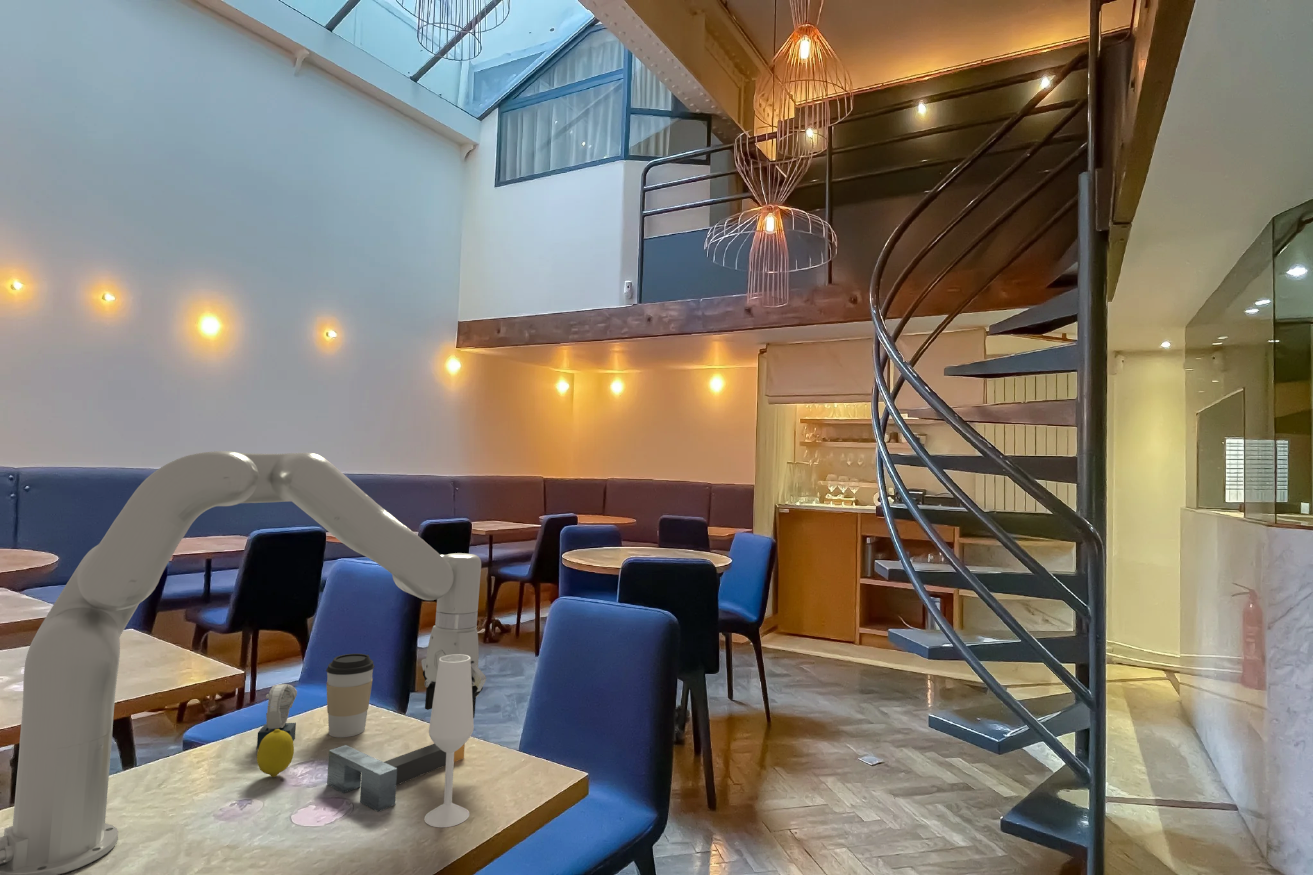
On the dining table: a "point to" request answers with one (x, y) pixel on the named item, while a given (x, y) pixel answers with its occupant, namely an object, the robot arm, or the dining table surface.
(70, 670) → the robot arm
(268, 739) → the lemon
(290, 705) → the watch
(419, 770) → the plug
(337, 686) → the coffee cup
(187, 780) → the dining table surface
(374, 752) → the dining table surface
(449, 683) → the champagne flute
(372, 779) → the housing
